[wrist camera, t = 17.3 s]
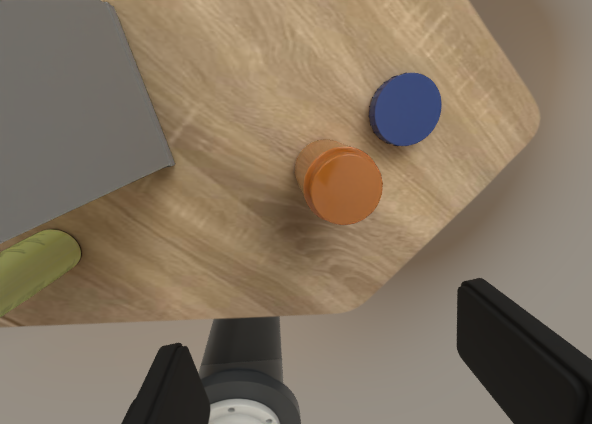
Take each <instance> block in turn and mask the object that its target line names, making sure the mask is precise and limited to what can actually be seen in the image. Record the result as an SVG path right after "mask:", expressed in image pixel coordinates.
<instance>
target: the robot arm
mask: <svg viewBox="0 0 592 424" xmlns="http://www.w3.org/2000/svg"><path fill="white" fill-rule="evenodd" d="M457 296H458V297H457V298H458V299H457V350H458V353H459V355H460V357H461V358H462V360H463V361H464V362H465V363H466V365H467V366H468V367H469V368H470V370H471V371H472V372H473V373H474V375H475V376H476V377H477V378H478V380H479V381H480V382H481V383H482V385H483V386H484V387H485V388H486V390H487V391H488V392H489V393H490V395H492V397H493V398H494V400H495V401H496V402H497V403H498V404H499V406H500V407H501V408H502V409H503V411H504V412H505V413H506V414H507V416H508V417H509V418H510V419H511V421H512V422H513V423H514V424H592V360H591V359H590V358H588V357H587V356H586V355H584V354H583V353H582V352H580V351H579V350H578V349H576V348H575V347H574V346H572V345H571V344H570V343H568V342H567V341H566V340H564V339H563V338H562V337H560V336H559V335H557V334H556V333H555V332H554V331H552V330H551V329H550V328H548V327H547V326H546V325H544V324H543V323H542V322H540V321H539V320H538V319H536V318H535V317H534V316H532V315H531V314H530V313H528V312H527V311H526V310H524V309H523V308H521V307H520V306H519V305H518V304H516V303H515V302H514V301H512V300H511V299H509V298H508V297H507V296H505V295H504V294H503V293H501V292H500V291H499V290H498V289H496V288H495V287H493V286H492V285H491V284H489V283H488V282H487V281H485V280H484V279H482V278H477V279H473V280H468V281H464V282H462V284H461V287H459V288H458V295H457ZM122 424H280V422H279V419H278V417H277V416H276V414H275V413H274V412H273V411H272V410H271V409H270V408H268V407H267V406H265V405H264V404H261V403H259V402H256V401H253V400H248V399H227V400H222V401H219V402H216V403H213V404H211V405H210V402H209V399H208V396H207V394H206V391H205V389H204V386H203V384H202V381H201V379H200V377H199V374H198V372H197V369H196V367H195V364H194V362H193V359H192V357H191V354H190V352H189V349H188V347H187V346H182V344H181V343H175V344H170V345H166V346H162V347H161V348H160V349H159V351H158V353H157V355H156V357H155V359H154V361H153V363H152V365H151V368H150V370H149V372H148V374H147V376H146V378H145V381H144V382H143V385H142V387H141V389H140V391H139V393H138V395H137V397H136V399H135V400H134V401H133V402H132V404H131V405H130V407H129V409H128V411H127V413H126V416H125V418H124V420H123V422H122Z"/></svg>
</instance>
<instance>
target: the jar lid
mask: <svg viewBox="0 0 592 424" xmlns="http://www.w3.org/2000/svg"><path fill="white" fill-rule="evenodd" d="M372 98H373V99H372V101H371V105H370V106H369V107H370V110H369V118H370V123H371V124H370V125H371V126H372V129H373V131H374V133H375V134H376V135H377V136H378V137H379V139H381V140H383V141H384V142H386V143H387V144H393V145H395V146H409V145H413V144H416V143H418V142H420V141H422V140H423V139H425V138H426V137H427V136H428V135H429V134H430V133H431V132H432V130H433V129H434V128H435V126H436V124H437V122H438V120H439V117H440V113H441V96H440V93H439V90H438V88H437V87H436V85H435V84H434V82H433V81H432V80H430V79H429V78H428V77H426V76H424V75H422V74H418V73H404V74H401V75H399V76H398V75H397V76H394V77H392V78H391V79H389V80H388V81H386V82H384V84H383V85H381V86H380V88H378V89H377V91H376V93H375V95H374V97H372Z"/></svg>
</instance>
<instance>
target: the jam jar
mask: <svg viewBox="0 0 592 424" xmlns="http://www.w3.org/2000/svg"><path fill="white" fill-rule="evenodd" d="M295 176H296V180H297V182H298V185H299V187H300V189H301V191H302V194H303V196H304V198H305V200H306V203H307V204H308V206H309V208H310V209H311V210H312V212H313V213H314V214H316V215H317V216H318V217H320V218H321V219H323V220H326V221H329V222H331V223H334V224H339V225H349V224H354V223H357V222H359V221H361V220H363V219H365V218H366V217H367V216H369V215H370V214H371V213H372V212H373V211H374V209H375V208H376V207H377V205H378V203H379V201H380V198H381V195H382V185H383V182H382V177H381V173H380V171H379V169H378V167H377V166H376V164H375V162H374V161H373V160H372V158H371V157H370V156H369V155H368V154H366V153H365V152H363V151H361V150H359V149H357V148H354V147H351V146H348V145H345V144H342V143H339V142H336V141H333V140H328V139H323V140H317V141H314V142H312V143H310V144H309V145H307V146H306V147H305V148H304V149H303V150H302V151H301V153H300V154H299V156H298V158H297V160H296V164H295Z"/></svg>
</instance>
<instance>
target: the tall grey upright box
mask: <svg viewBox="0 0 592 424" xmlns="http://www.w3.org/2000/svg"><path fill="white" fill-rule="evenodd" d="M173 165H175V162H174V160H173V157H172V154H171V152H170V149H169V147H168V144H167V142H166V139H165V137H164V134H163V131H162V129H161V126H160V124H159V121H158V119H157V116H156V114H155V111H154V108H153V106H152V103H151V101H150V98H149V96H148V93H147V91H146V88H145V85H144V83H143V80H142V78H141V75H140V73H139V70H138V68H137V65H136V62H135V60H134V57H133V55H132V52H131V50H130V47H129V45H128V42H127V39H126V37H125V34H124V32H123V29H122V27H121V24H120V22H119V19H118V16H117V14H116V11H115V9H114V7H113V6H112V5H110V4H109V3H108V2H102V1H101V0H0V243H3V242H5V241H7V240H9V239H11V238H13V237H15V236H18V235H20V234H22V233H24V232H26V231H28V230H30V229H33V228H35V227H37V226H39V225H41V224H43V223H46V222H48V221H50V220H52V219H54V218H56V217H58V216H61V215H63V214H65V213H67V212H69V211H71V210H73V209H76V208H78V207H80V206H82V205H84V204H86V203H89V202H91V201H93V200H95V199H97V198H99V197H101V196H104V195H106V194H108V193H110V192H112V191H114V190H116V189H119V188H121V187H123V186H125V185H127V184H129V183H131V182H134V181H136V180H138V179H140V178H142V177H144V176H147V175H149V174H151V173H153V172H155V171H157V170H159V169H162V168H166V167H170V166H173Z"/></svg>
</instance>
